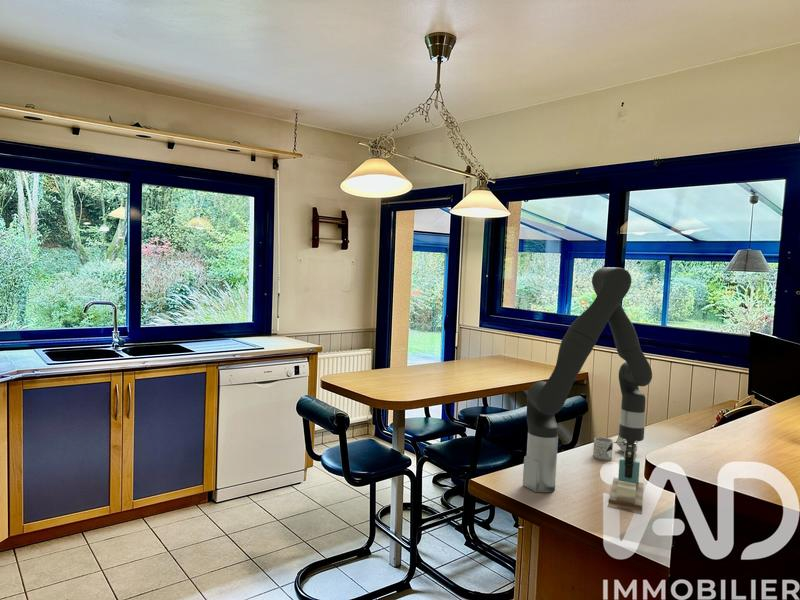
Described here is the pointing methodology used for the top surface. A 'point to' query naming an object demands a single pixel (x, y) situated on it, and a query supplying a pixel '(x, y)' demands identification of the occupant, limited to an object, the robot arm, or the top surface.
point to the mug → (603, 448)
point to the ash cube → (626, 492)
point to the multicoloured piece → (635, 479)
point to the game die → (622, 442)
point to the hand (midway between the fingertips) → (628, 475)
